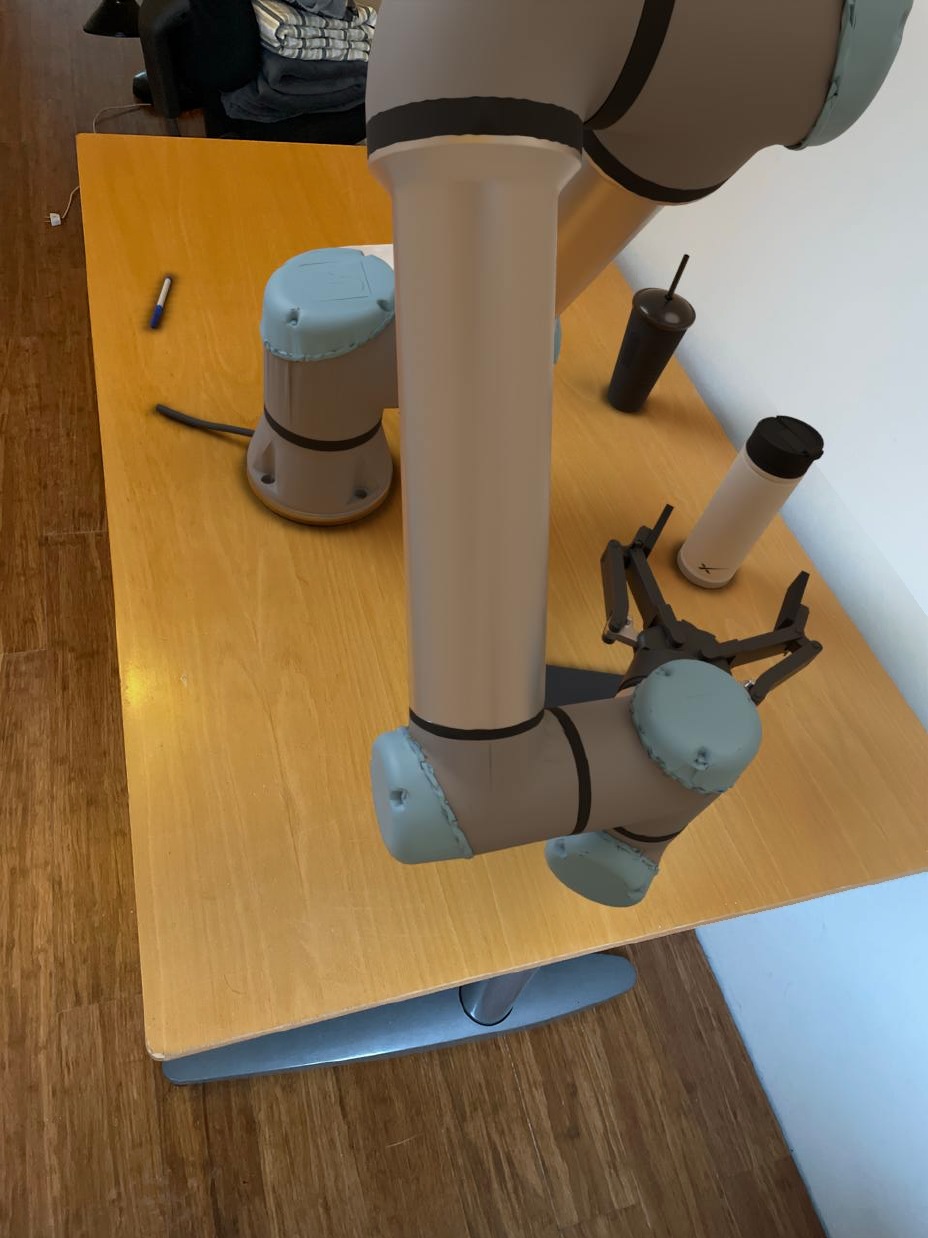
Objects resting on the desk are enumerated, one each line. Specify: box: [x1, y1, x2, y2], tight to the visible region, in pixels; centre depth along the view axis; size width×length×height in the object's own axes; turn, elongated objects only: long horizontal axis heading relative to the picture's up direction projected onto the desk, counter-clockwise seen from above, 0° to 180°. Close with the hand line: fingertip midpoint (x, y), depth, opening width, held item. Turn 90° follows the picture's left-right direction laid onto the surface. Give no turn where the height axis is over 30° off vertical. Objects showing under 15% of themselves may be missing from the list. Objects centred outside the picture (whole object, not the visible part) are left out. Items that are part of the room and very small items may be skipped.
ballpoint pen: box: [150, 275, 172, 329], centre depth 99 cm, size 10×1×1 cm, turn 3°
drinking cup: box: [606, 253, 697, 413], centre depth 97 cm, size 8×8×20 cm
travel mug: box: [676, 414, 825, 589], centre depth 82 cm, size 6×7×20 cm
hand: (731, 547), depth 76 cm, fingers open, 13 cm apart
